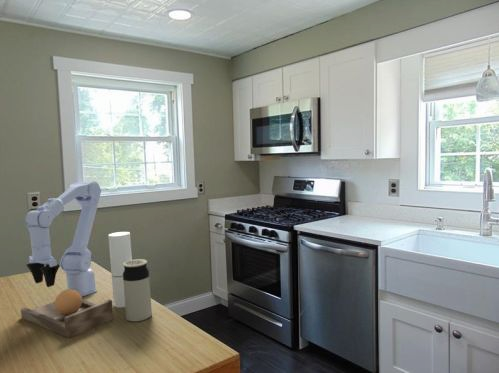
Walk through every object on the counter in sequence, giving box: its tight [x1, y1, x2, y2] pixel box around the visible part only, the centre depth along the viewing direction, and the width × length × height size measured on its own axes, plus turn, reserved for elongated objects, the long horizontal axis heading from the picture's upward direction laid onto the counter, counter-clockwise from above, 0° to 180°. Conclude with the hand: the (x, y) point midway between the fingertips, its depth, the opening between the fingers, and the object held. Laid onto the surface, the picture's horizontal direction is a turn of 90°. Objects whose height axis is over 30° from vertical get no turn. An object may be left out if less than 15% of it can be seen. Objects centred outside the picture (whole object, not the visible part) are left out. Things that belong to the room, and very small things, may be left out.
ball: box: [54, 289, 83, 315], centre depth 123 cm, size 8×8×8 cm
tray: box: [20, 299, 114, 339], centre depth 124 cm, size 15×28×6 cm, turn 55°
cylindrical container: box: [107, 231, 133, 308], centre depth 133 cm, size 7×7×25 cm
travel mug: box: [123, 258, 153, 322], centre depth 122 cm, size 8×8×18 cm
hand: (44, 284), depth 130 cm, fingers open, 7 cm apart
